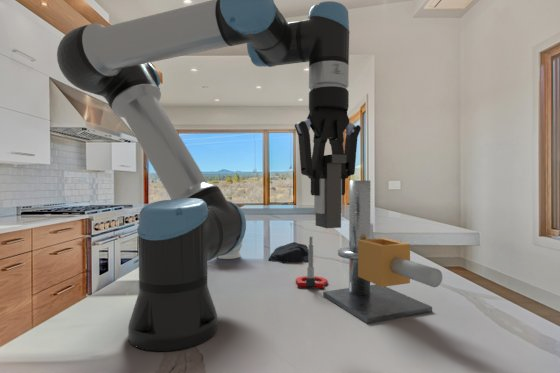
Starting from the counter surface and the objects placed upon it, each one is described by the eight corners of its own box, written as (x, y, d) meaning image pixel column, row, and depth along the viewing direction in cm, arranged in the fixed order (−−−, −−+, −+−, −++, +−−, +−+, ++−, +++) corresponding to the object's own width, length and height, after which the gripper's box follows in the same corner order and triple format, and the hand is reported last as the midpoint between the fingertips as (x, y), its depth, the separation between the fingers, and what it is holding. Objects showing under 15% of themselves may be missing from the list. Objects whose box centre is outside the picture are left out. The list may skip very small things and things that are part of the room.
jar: (249, 256, 124) (249, 214, 123) (230, 261, 115) (230, 216, 115) (226, 252, 129) (226, 212, 129) (207, 258, 121) (207, 215, 120)
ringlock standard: (367, 323, 65) (367, 180, 64) (319, 293, 83) (319, 180, 82) (432, 311, 71) (432, 180, 70) (374, 285, 88) (374, 180, 88)
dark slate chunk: (312, 251, 135) (312, 239, 135) (312, 264, 113) (312, 250, 113) (273, 250, 137) (273, 238, 136) (266, 263, 115) (266, 249, 115)
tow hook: (297, 279, 96) (293, 288, 87) (297, 233, 96) (294, 236, 87) (327, 281, 95) (327, 289, 86) (328, 233, 95) (327, 237, 86)
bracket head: (419, 303, 59) (419, 256, 58) (357, 276, 75) (358, 239, 75) (450, 298, 61) (450, 253, 61) (384, 273, 78) (384, 237, 78)
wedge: (331, 229, 62) (332, 154, 62) (311, 224, 69) (311, 157, 69) (346, 228, 63) (346, 154, 63) (324, 223, 70) (324, 157, 70)
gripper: (298, 79, 59) (298, 216, 60) (375, 89, 65) (374, 213, 66) (282, 90, 66) (281, 212, 67) (353, 98, 72) (352, 210, 73)
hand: (327, 212), depth 66 cm, fingers closed on wedge, 3 cm apart
